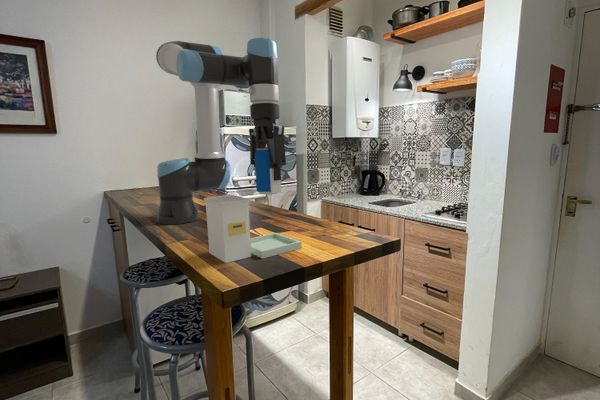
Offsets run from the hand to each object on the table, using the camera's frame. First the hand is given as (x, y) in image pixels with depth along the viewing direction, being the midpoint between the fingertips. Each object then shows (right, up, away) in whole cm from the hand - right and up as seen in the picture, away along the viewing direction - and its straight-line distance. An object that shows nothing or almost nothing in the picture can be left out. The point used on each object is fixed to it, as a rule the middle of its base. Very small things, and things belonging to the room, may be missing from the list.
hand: (268, 191), depth 89 cm
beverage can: (0, -1, 0) cm, 1 cm away
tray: (0, -15, +1) cm, 16 cm away
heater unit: (-10, -17, -4) cm, 20 cm away
